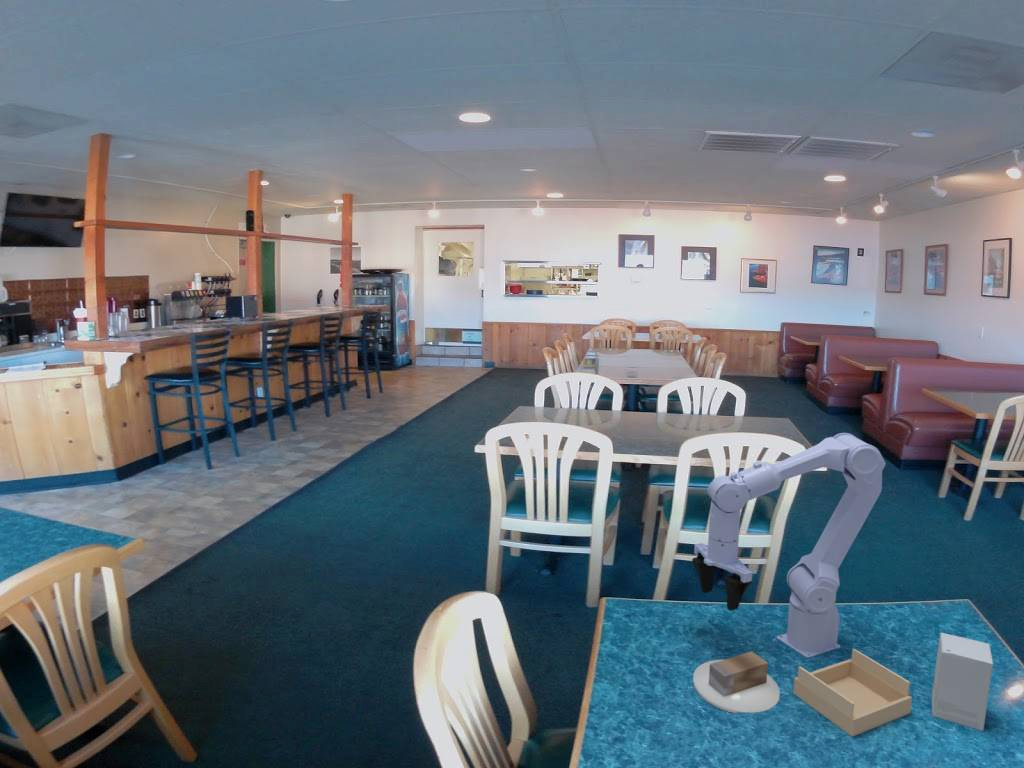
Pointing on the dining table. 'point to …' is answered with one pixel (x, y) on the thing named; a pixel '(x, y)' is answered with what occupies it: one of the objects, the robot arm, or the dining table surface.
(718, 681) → the brown rectangular block
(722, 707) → the plate
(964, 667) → the supplement box
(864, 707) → the wooden tray
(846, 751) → the dining table surface
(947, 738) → the dining table surface
